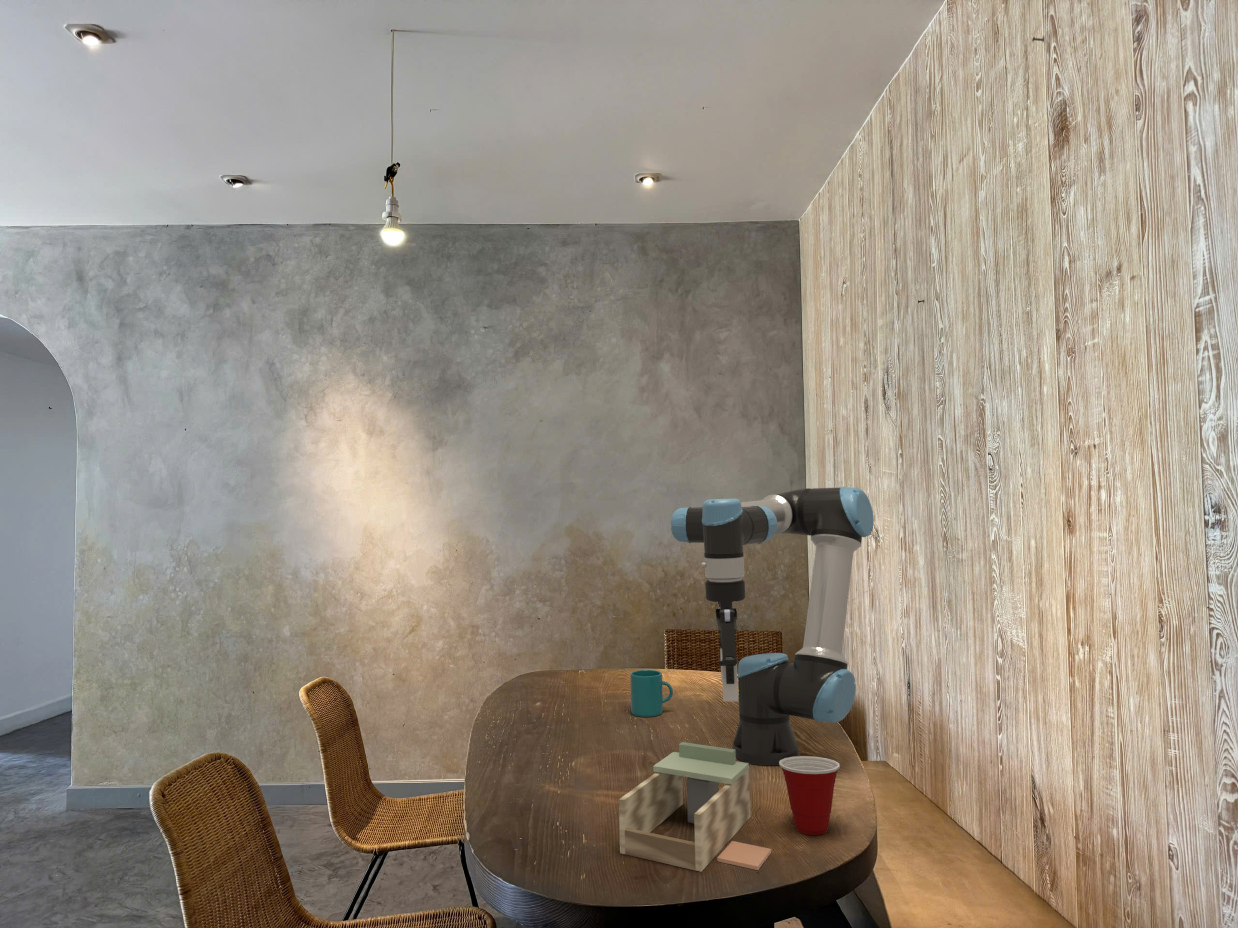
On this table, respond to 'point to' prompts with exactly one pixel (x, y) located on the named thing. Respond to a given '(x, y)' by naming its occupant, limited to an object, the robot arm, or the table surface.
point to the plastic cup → (810, 791)
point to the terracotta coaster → (744, 855)
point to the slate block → (699, 794)
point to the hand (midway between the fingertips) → (729, 690)
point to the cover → (703, 763)
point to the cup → (647, 693)
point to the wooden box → (666, 796)
